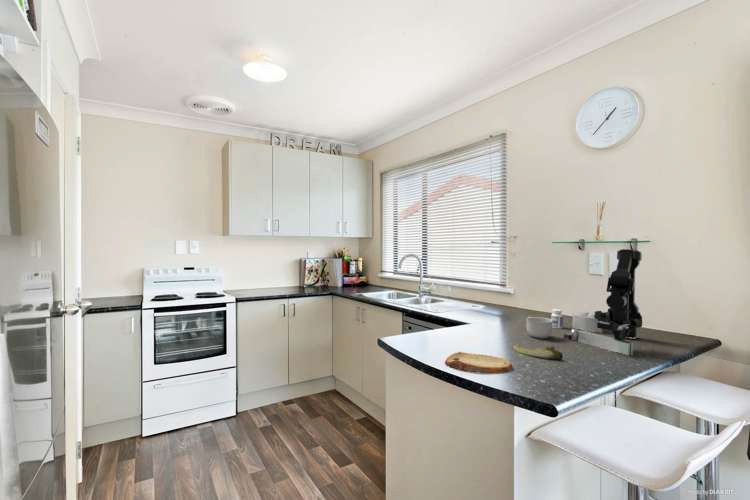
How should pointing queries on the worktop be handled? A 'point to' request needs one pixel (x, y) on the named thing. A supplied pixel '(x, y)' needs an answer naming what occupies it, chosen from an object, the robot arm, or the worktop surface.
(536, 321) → the teacup
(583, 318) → the lumpy-topped squat cylinder
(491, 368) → the bread slice
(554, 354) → the olive green elongated piece
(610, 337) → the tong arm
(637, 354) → the worktop surface
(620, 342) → the tongs fixed arm
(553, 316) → the pill bottle
